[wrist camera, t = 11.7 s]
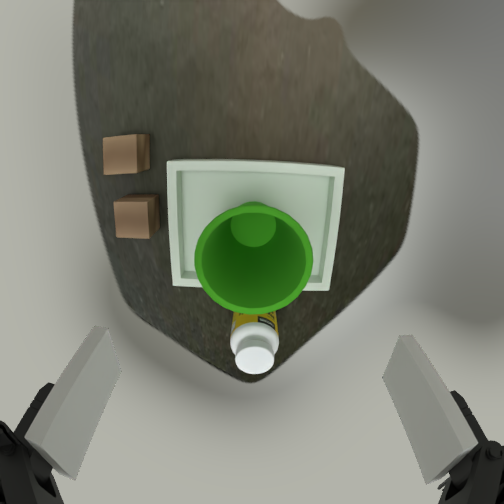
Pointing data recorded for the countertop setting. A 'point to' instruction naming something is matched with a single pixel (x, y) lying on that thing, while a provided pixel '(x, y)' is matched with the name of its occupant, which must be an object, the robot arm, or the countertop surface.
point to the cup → (253, 259)
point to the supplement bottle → (254, 341)
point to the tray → (248, 190)
